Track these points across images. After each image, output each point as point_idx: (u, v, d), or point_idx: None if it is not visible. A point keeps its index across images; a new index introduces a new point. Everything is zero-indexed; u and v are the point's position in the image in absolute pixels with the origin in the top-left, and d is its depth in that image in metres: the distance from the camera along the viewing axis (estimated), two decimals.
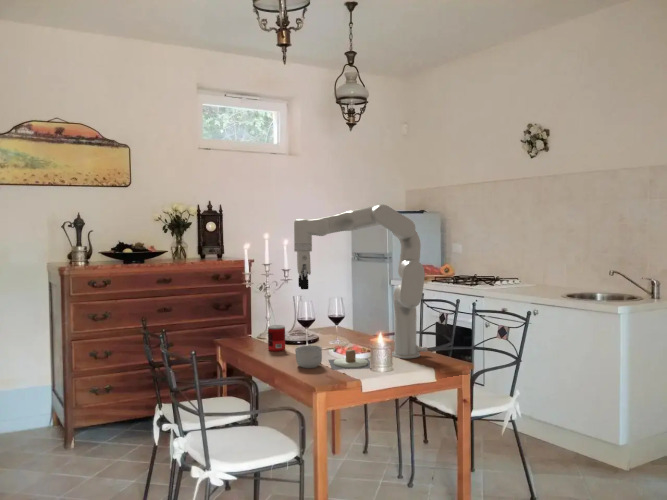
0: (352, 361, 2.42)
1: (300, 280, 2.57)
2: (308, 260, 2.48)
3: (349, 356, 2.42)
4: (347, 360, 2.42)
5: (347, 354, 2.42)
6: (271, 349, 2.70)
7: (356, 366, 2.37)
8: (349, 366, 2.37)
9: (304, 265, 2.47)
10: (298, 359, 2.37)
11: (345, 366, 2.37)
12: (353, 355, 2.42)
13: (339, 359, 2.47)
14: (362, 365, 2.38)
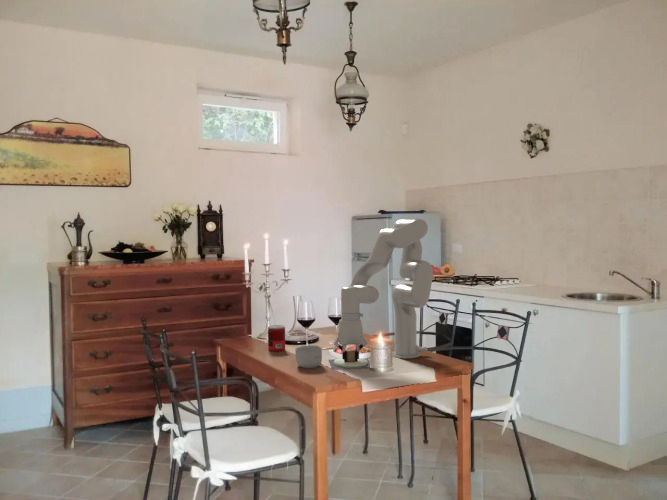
0: (352, 361, 2.42)
1: None
2: None
3: (349, 356, 2.42)
4: (347, 360, 2.42)
5: (347, 354, 2.42)
6: (271, 349, 2.70)
7: (356, 366, 2.37)
8: (349, 366, 2.37)
9: None
10: (298, 359, 2.37)
11: (345, 366, 2.37)
12: (353, 355, 2.42)
13: (339, 359, 2.47)
14: (362, 365, 2.38)
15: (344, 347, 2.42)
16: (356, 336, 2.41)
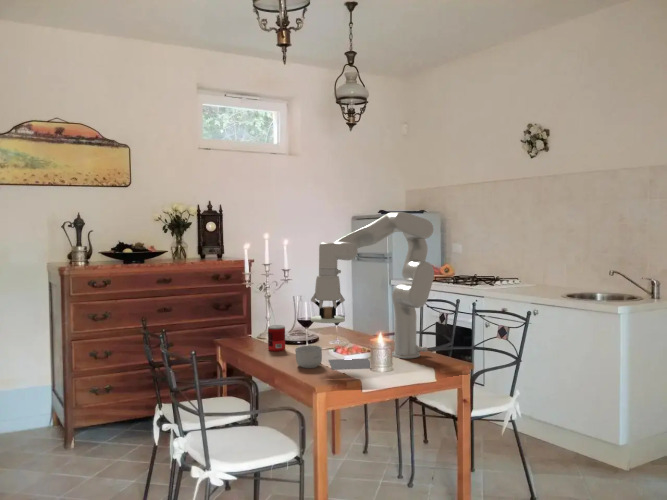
0: (329, 317, 2.40)
1: None
2: None
3: (326, 312, 2.40)
4: (324, 316, 2.40)
5: (324, 310, 2.40)
6: (271, 349, 2.70)
7: (333, 321, 2.35)
8: (326, 321, 2.35)
9: (339, 292, 2.42)
10: (298, 359, 2.37)
11: (322, 321, 2.35)
12: (330, 311, 2.40)
13: (316, 316, 2.45)
14: (339, 321, 2.36)
15: (321, 303, 2.40)
16: (333, 292, 2.39)
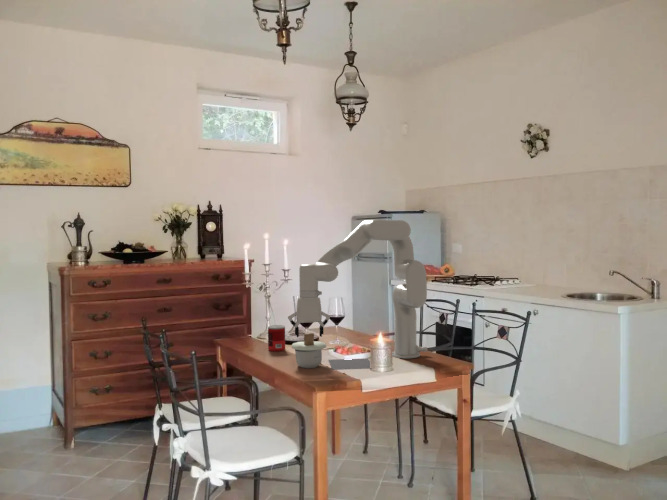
0: (310, 344, 2.39)
1: (298, 330, 2.40)
2: None
3: (307, 339, 2.39)
4: (305, 343, 2.40)
5: (305, 337, 2.40)
6: (271, 349, 2.70)
7: (313, 349, 2.35)
8: (306, 349, 2.34)
9: None
10: (298, 359, 2.37)
11: (302, 349, 2.35)
12: (311, 338, 2.40)
13: (298, 342, 2.45)
14: (320, 348, 2.36)
15: (296, 322, 2.39)
16: (314, 314, 2.39)
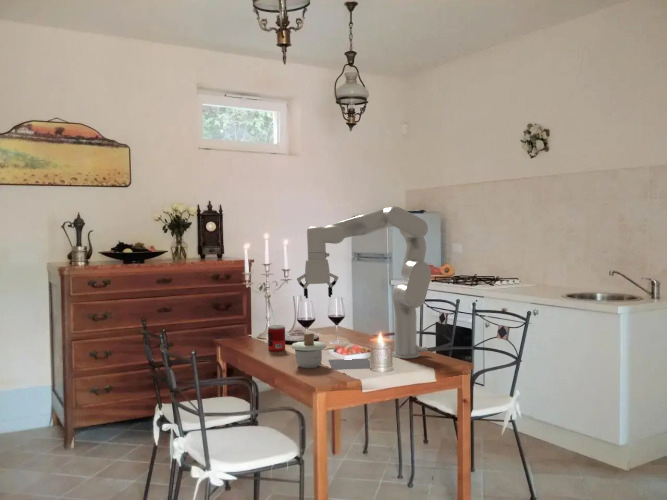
0: (310, 344, 2.39)
1: (307, 291, 2.45)
2: None
3: (307, 339, 2.39)
4: (305, 343, 2.40)
5: (305, 337, 2.39)
6: (271, 349, 2.70)
7: (313, 349, 2.34)
8: (306, 349, 2.34)
9: None
10: (298, 359, 2.37)
11: (302, 349, 2.34)
12: (311, 338, 2.39)
13: (298, 342, 2.45)
14: (320, 348, 2.36)
15: (305, 284, 2.44)
16: (323, 275, 2.44)
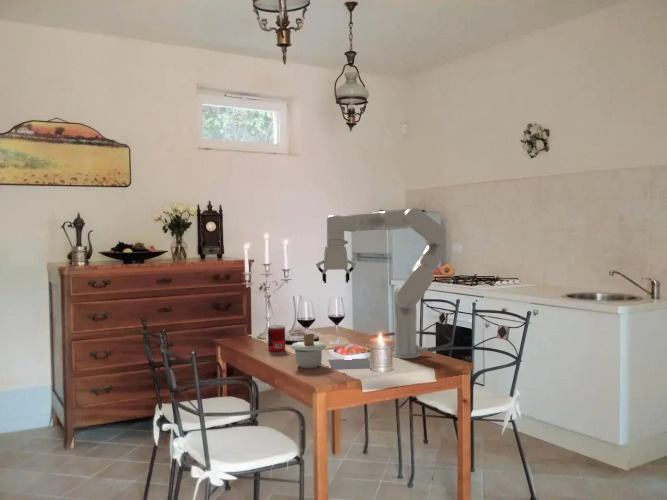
0: (310, 344, 2.39)
1: None
2: None
3: (307, 339, 2.39)
4: (305, 343, 2.39)
5: (305, 337, 2.39)
6: (271, 349, 2.70)
7: (313, 349, 2.34)
8: (306, 349, 2.34)
9: (347, 259, 2.59)
10: (298, 359, 2.37)
11: (302, 349, 2.34)
12: (311, 338, 2.39)
13: (298, 343, 2.44)
14: (319, 348, 2.36)
15: (324, 269, 2.57)
16: (341, 261, 2.56)
